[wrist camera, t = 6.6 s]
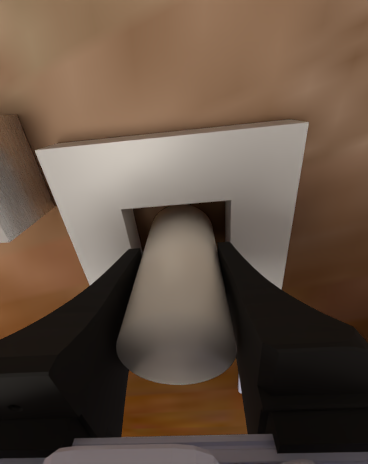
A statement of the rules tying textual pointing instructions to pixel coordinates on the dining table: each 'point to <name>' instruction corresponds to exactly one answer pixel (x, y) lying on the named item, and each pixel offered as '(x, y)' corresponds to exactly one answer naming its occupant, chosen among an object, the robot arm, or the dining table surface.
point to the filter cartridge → (178, 304)
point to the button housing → (19, 182)
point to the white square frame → (180, 187)
